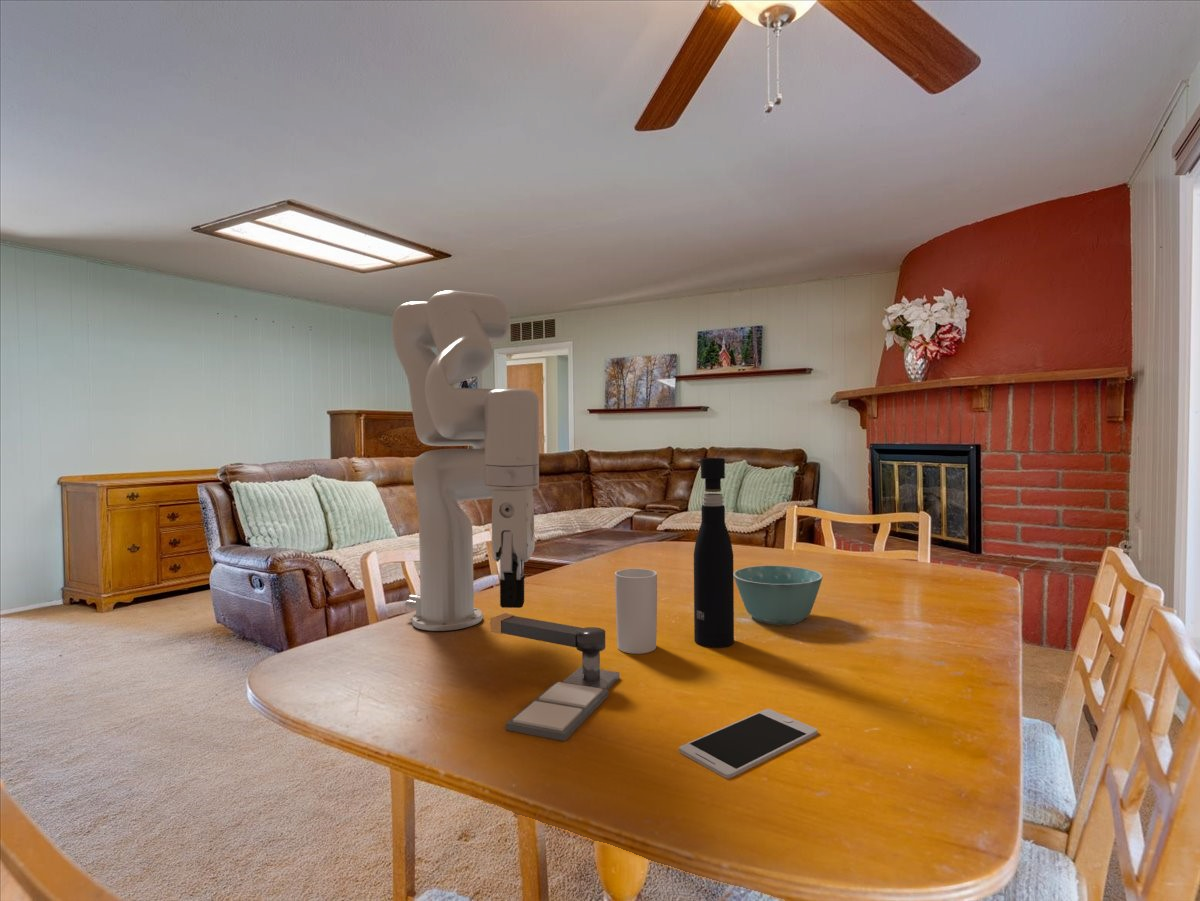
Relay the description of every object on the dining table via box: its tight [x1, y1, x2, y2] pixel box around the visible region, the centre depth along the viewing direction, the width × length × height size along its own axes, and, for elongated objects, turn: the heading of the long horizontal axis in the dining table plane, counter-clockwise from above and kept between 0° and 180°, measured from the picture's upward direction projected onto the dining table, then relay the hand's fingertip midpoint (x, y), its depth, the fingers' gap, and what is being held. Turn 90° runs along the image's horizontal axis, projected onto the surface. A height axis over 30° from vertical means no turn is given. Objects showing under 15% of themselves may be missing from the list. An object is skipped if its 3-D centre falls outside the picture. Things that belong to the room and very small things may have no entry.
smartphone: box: [678, 708, 819, 779], centre depth 71 cm, size 7×16×1 cm, turn 127°
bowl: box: [733, 564, 823, 626], centre depth 117 cm, size 16×16×8 cm
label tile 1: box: [505, 700, 590, 742], centre depth 76 cm, size 8×7×1 cm
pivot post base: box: [562, 651, 620, 691], centre depth 88 cm, size 6×6×4 cm
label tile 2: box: [532, 681, 609, 718], centre depth 82 cm, size 8×7×1 cm
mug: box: [614, 567, 658, 655], centre depth 103 cm, size 10×7×12 cm, turn 21°
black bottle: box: [693, 457, 735, 649], centre depth 104 cm, size 6×6×30 cm
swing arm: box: [489, 613, 606, 653], centre depth 91 cm, size 18×4×2 cm, turn 59°
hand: (512, 605), depth 90 cm, fingers closed
